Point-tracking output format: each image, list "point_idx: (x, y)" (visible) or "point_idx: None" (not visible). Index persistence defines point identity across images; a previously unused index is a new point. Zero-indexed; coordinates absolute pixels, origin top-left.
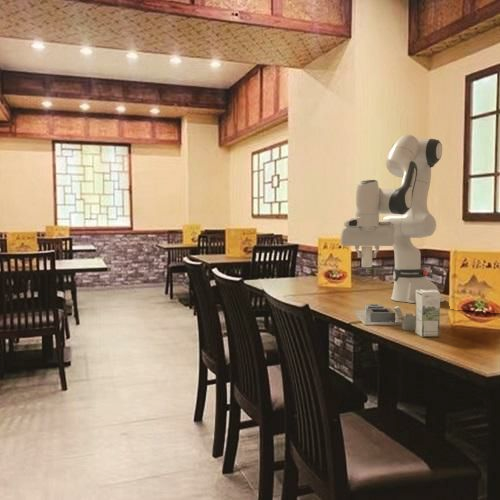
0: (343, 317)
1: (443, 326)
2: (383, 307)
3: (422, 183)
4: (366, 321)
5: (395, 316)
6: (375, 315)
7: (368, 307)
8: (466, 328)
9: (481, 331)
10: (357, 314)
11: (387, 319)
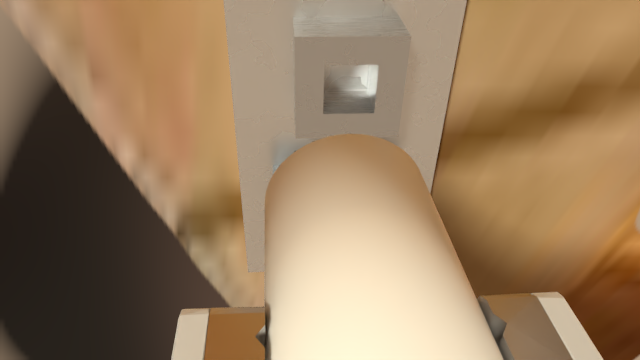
0: (142, 108)
1: (562, 273)
2: (396, 132)
3: None
4: (258, 260)
5: (433, 164)
6: None
7: (298, 135)
8: (622, 295)
9: (636, 325)
10: (231, 79)
11: None
